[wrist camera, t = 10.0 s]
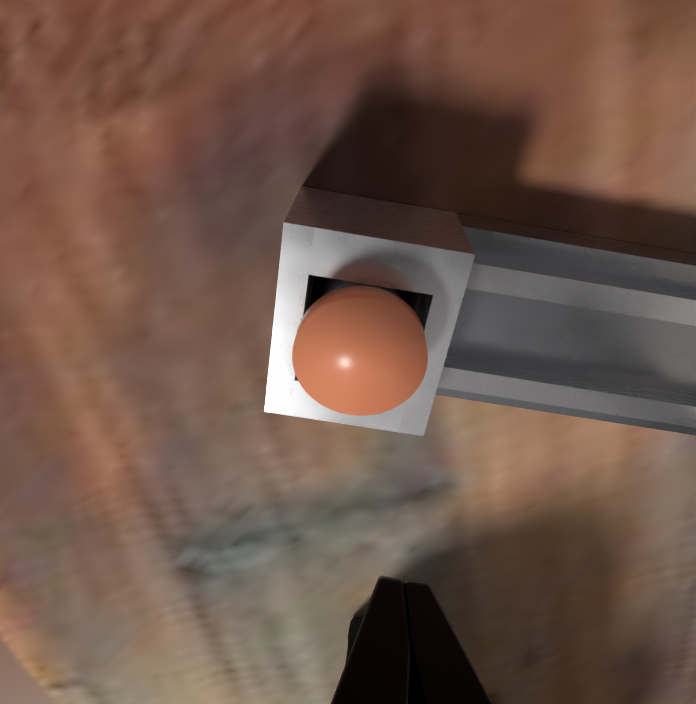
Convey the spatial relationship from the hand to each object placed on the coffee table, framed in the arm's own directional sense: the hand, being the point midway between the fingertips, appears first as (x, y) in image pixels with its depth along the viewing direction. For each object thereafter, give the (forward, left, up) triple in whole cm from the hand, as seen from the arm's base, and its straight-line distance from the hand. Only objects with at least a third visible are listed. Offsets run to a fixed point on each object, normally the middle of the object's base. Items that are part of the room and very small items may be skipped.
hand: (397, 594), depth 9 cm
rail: (-9, -1, -12) cm, 15 cm away
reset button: (+1, -1, -11) cm, 11 cm away
